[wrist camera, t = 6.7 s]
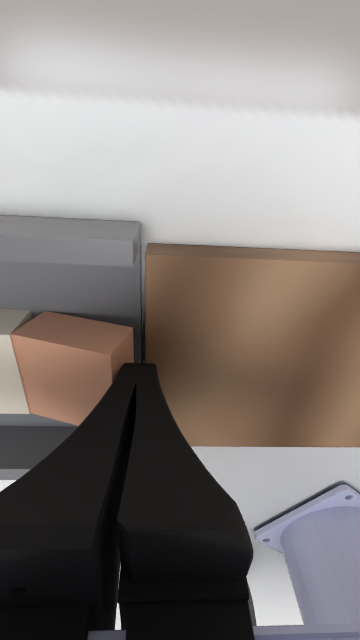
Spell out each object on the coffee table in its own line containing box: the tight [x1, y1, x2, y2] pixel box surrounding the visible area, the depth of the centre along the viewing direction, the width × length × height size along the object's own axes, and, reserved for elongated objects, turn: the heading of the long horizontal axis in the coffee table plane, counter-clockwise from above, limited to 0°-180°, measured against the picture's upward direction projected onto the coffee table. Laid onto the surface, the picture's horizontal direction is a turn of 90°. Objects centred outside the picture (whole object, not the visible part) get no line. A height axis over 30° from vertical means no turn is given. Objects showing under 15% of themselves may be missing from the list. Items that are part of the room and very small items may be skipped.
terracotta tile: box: [11, 311, 134, 426], centre depth 13 cm, size 4×4×2 cm
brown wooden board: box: [146, 243, 360, 447], centre depth 14 cm, size 16×10×2 cm, turn 87°
